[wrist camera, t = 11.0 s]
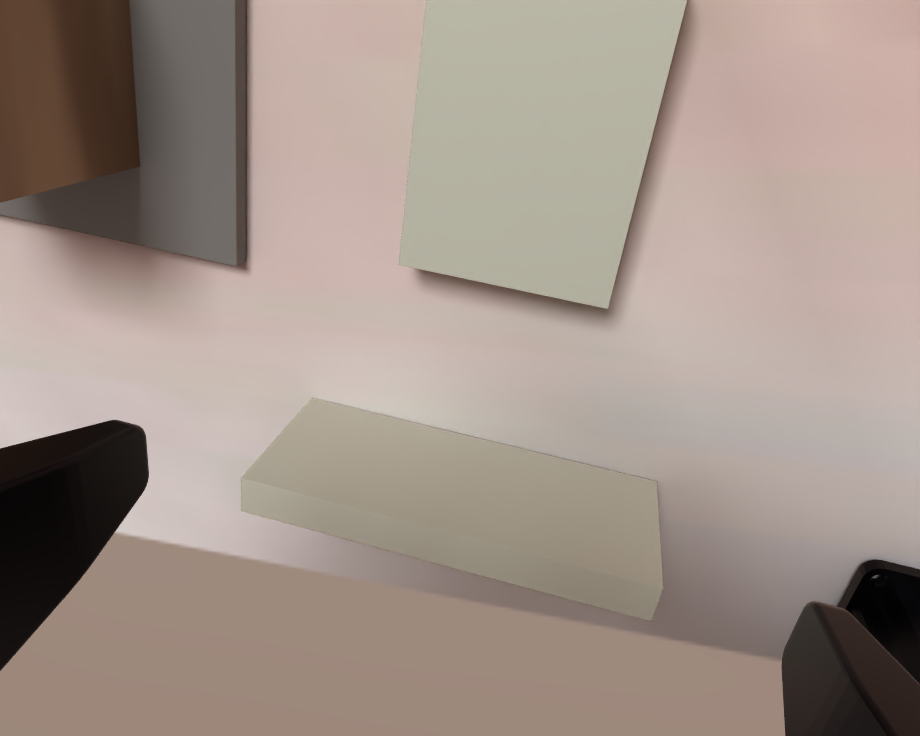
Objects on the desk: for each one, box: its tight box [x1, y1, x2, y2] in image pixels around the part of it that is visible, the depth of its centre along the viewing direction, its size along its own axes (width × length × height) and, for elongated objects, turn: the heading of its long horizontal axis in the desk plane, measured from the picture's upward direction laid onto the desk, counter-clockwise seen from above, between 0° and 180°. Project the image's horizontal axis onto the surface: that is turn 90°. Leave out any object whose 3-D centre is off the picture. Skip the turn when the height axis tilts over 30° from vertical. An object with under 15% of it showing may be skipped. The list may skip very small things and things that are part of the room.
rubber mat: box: [0, 0, 246, 266], centre depth 20 cm, size 11×11×1 cm
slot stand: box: [241, 0, 687, 621], centre depth 17 cm, size 12×22×5 cm, turn 171°
